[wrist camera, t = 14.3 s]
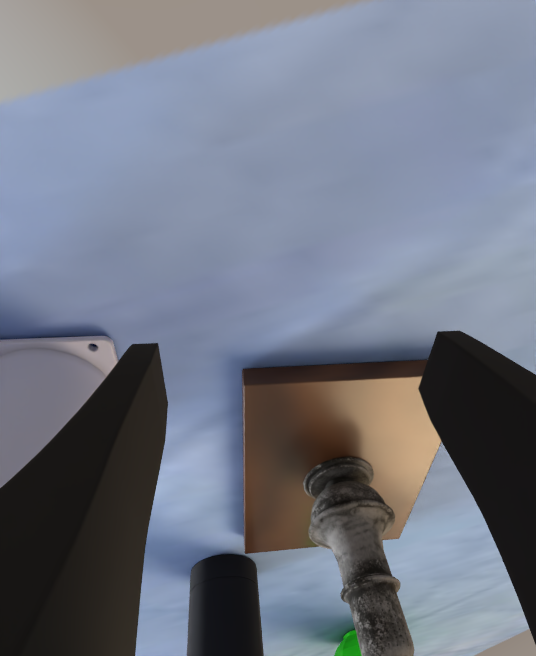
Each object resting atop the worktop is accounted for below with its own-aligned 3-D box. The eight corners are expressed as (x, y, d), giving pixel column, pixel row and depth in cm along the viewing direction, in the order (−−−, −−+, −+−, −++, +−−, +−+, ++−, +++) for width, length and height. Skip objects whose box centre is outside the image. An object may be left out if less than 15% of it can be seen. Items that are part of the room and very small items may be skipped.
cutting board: (243, 536, 35) (244, 554, 34) (242, 368, 24) (243, 385, 23) (393, 522, 37) (399, 538, 36) (459, 357, 25) (472, 373, 24)
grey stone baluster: (359, 443, 27) (442, 667, 17) (388, 482, 30) (471, 690, 20) (285, 476, 28) (322, 702, 18) (320, 510, 31) (368, 719, 22)
